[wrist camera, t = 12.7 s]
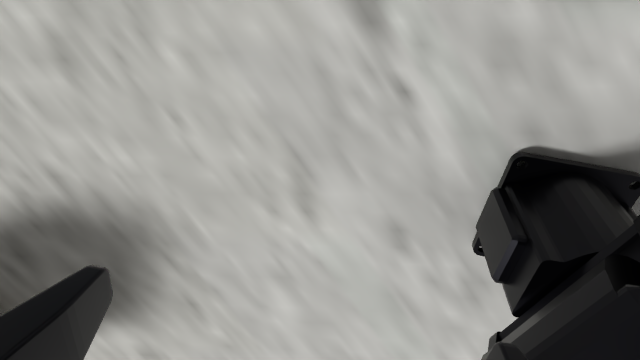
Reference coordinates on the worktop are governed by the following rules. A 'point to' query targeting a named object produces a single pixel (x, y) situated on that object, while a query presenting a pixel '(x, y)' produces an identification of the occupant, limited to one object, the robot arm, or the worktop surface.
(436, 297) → the worktop surface
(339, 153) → the worktop surface
